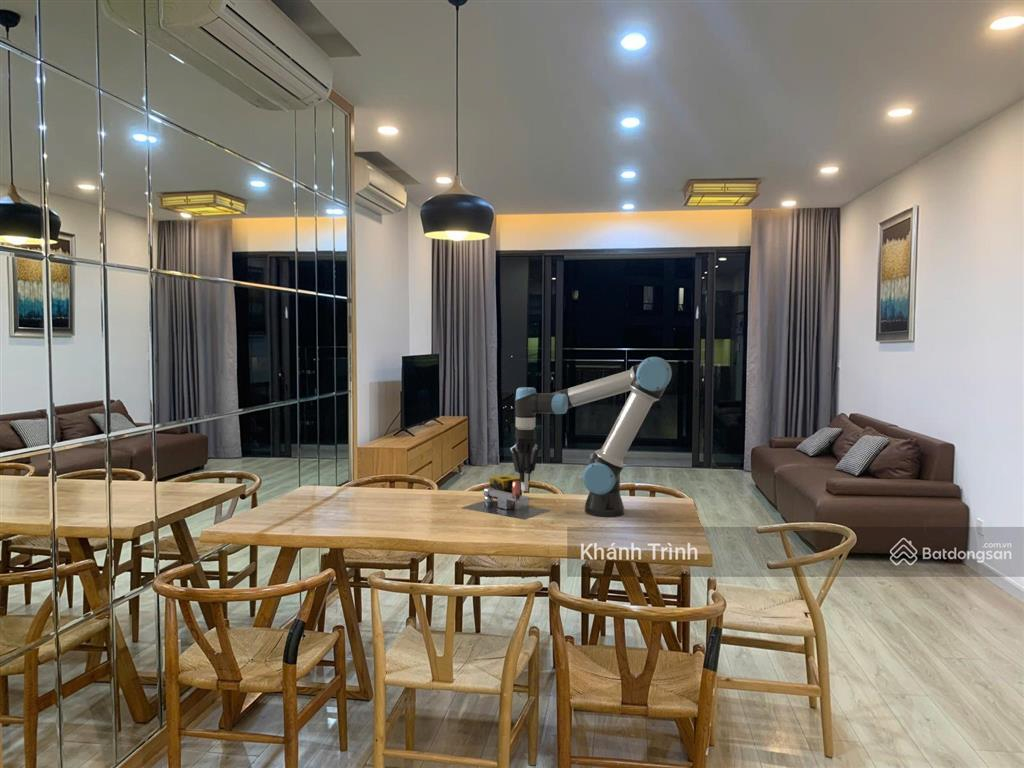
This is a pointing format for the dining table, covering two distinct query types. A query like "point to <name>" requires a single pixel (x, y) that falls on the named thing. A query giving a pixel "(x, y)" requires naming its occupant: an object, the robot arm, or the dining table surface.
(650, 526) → the dining table surface
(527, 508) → the gray mechanism base plate
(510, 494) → the lever
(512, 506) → the walnut
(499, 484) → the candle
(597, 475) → the robot arm
